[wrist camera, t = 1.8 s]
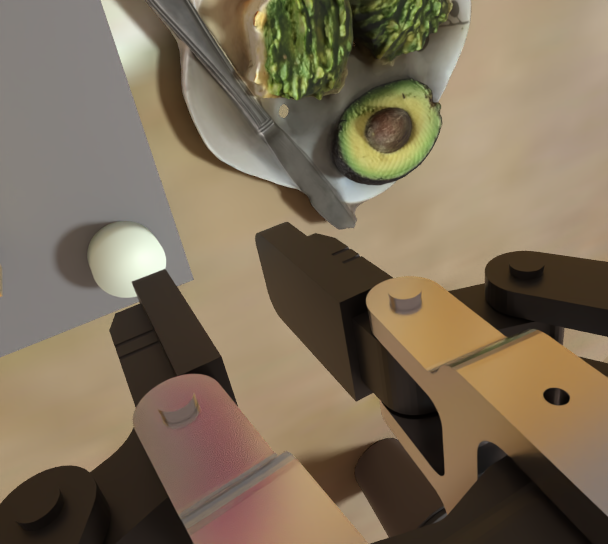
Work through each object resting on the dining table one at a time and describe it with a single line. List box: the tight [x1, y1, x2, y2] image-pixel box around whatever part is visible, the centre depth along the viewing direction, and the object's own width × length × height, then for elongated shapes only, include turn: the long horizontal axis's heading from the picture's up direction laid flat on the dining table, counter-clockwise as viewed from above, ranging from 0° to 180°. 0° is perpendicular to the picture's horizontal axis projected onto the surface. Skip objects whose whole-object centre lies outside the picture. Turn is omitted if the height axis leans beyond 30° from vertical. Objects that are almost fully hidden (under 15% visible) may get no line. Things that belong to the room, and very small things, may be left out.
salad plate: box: [145, 0, 471, 229], centre depth 29 cm, size 19×18×5 cm
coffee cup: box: [355, 438, 447, 538], centre depth 45 cm, size 8×8×10 cm
